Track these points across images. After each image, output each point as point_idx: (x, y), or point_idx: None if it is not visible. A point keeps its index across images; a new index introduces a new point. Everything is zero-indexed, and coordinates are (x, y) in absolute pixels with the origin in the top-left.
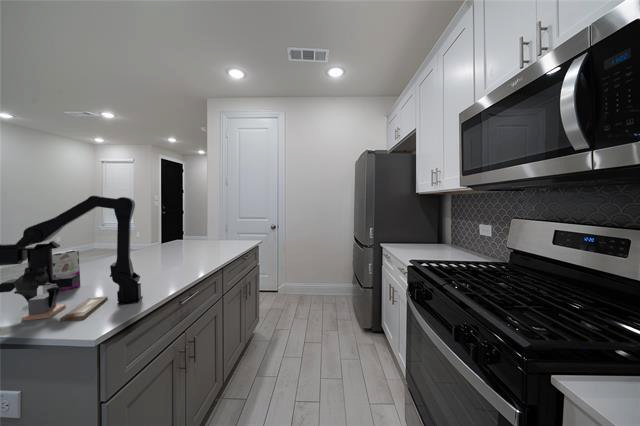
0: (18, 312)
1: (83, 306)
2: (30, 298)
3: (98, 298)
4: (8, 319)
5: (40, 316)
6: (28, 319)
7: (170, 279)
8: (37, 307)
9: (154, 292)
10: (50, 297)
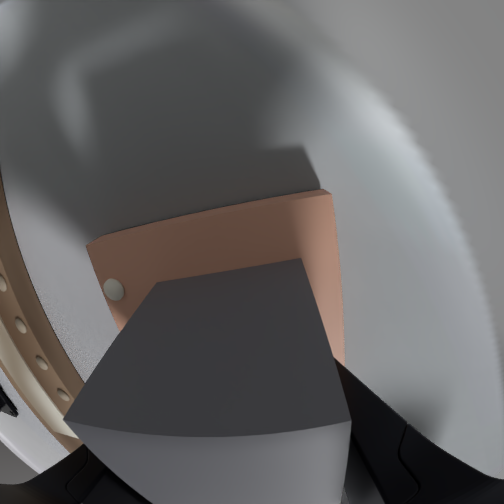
0: (450, 365)
1: (17, 355)
2: (367, 470)
3: (79, 446)
4: (454, 253)
5: (152, 226)
6: (264, 201)
7: None
8: (196, 319)
9: (7, 429)
10: (92, 457)
